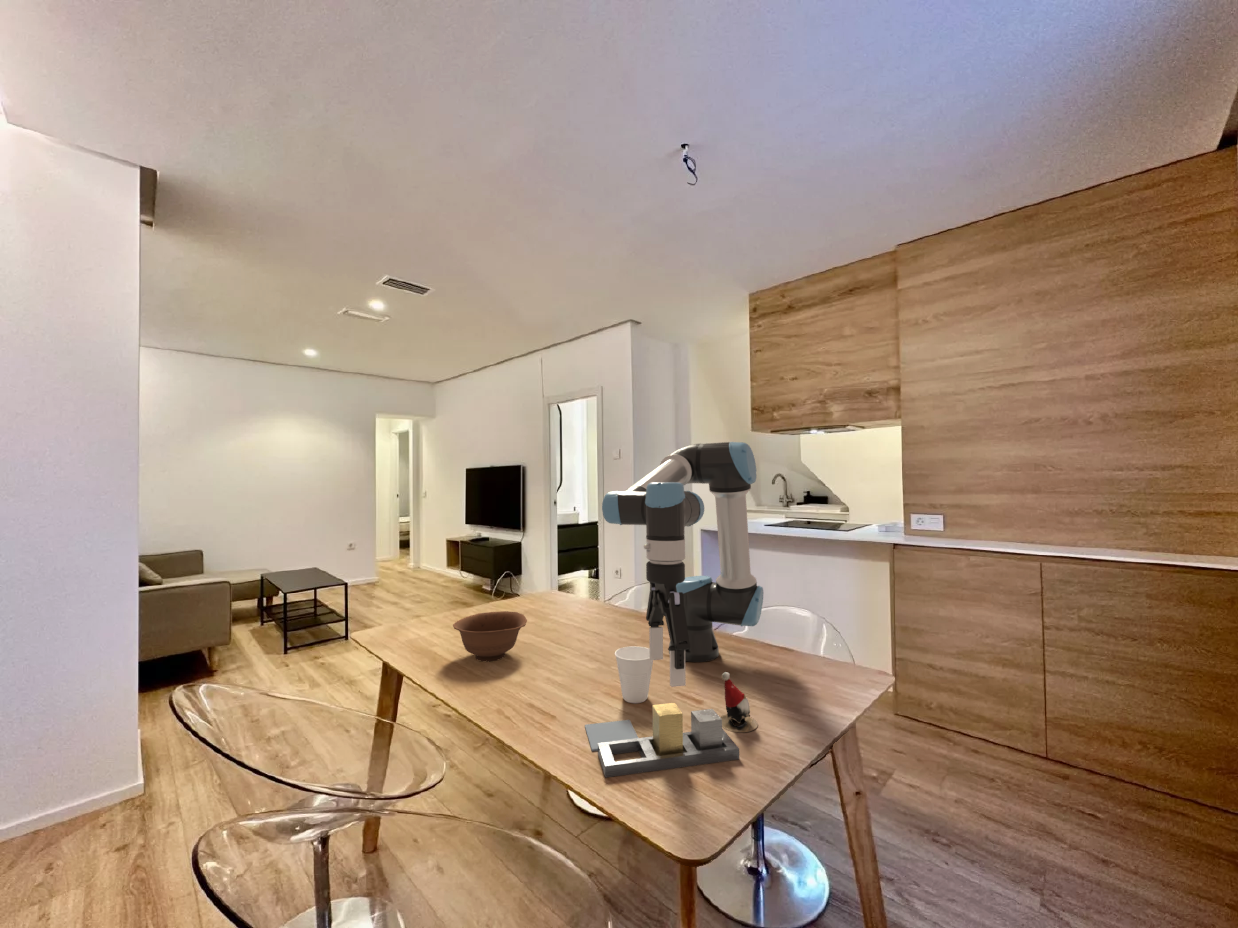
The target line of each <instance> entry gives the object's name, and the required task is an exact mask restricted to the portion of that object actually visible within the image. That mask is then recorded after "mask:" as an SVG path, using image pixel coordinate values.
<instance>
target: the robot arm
mask: <svg viewBox="0 0 1238 928" xmlns="http://www.w3.org/2000/svg"><path fill="white" fill-rule="evenodd" d="M753 452H754V451H753V450H752V448H751V446H750V445H749V444H748V443H746V442H740V441H724V442H709V443H707V442H706V443H694V444H693V443H692V444H690V445H687V446H684V447H681V448H679V449H677V450H675V451H673V452H671V453H670V454H668V455H667V456H665V457H664V458H663V459H662V460H661V461H660V464H659V466H657V467H656V468H654V469H653V470H652V471H650V472H649V473H647V474H646V475H645V476H644V477H642V478H641V479H639V480H638V481H636V482H635V483H633V485H631V486H629V487H628V488H627V489H625V490H613V491H609V492H607V493H605V495H604V496H603V499H602V503H601V511H602V516H603V519H604V520H605V521H606V522H607V523H608V524H613V525H614V524H615V525H620V526H623V525H627V526H630V525H631V526H645V529H646V530H645V531H646V533H645V535H646V537H645V539H646V541H645V542H646V544H644V545H643V549H644V550H646V559H647V560H648V561H647V562H646V564H645V565H646V569H645V572H646V575H645V576H646V577H645V579H646V580H647V582H649V595H648V601H647V610H646V615H645V619H646V622H647V623H648V624H647V625H648V626H649V631H648V632H649V633H648V635H649V636H648V637H649V640H648V641H649V642H648V643H649V649H650V660H653V661H658V660H660V661H661V660H664V627H663V626H665V622H666V627H667V630H668V631H667V632H668V637H669V644H668V648H667V650H668V654H669V686H670V687H671V688H673V687H674V688H675V687H683V686H685V687H686V685H687V684H686V662H688V663H689V662H691V663H704V662H710V661H713V660H715V659H717V658H718V657H719V655H720V654H719V649H720V648H719V645H718V642H717V638H716V636H715V632H714V629H713V623H717V624H726V625H732V626H740V627H755V626H757V625H758V623H759V621H760V618H761V616H762V609H763V604H764V603H763V602H764V587H763V586H761V585H757V583H758V582H757V578H756V577H755V576H754V575H753V574H752V573H751V558H750V544H749V543H750V542H749V541H750V540H749V527H748V526H749V525H748V511H747V493H749V491H750V490H751V489H752V488H751V487H752V486H751V485H752V484H754V483H756V480H757V464H756V460H755V459H756V458H755V455H754V453H753ZM688 484H703V485H704V484H708V490H709V492H710V493H711V494H713V495H714V497H715V509H716V510H715V512H716V513H715V514H716V524H717V526H716V527H717V541H718V542H717V543H718V554H719V555H718V556H719V567H720V568H719V569H720V574H719V576H717V577H716V579H715V582H714V581H713V578H712V576H710V575H694V576H686V564H685V563H684V562H683V561H684V560H685V559H686V538H685V527H691V526H694V524H695V525H696V524H697V523H698V522H700V521H701V520H702V518H703V516H704V514H705V504H704V501H703V499H702V498H701V497H700V496H699V495H698V494H697V493H696V492H693V491H689V490H685V486H686V485H688ZM664 617H665V622H664Z"/></svg>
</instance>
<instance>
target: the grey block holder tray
mask: <svg viewBox="0 0 1238 928" xmlns="http://www.w3.org/2000/svg"><path fill="white" fill-rule="evenodd" d="M634 752H639V755H640V758H634V759H626V760H625V759H624V760H618V761H615V758H614V755H618V754H619V755H621V754H626V753H627V754H628V753H634ZM597 756H598V759H599V762H600V765H601V768H602V771H603V775H604V777H605V778H612V777H618V776H619V777H620V776H626V775H627V776H628V775H634V774H635V775H636V774H641V773H649V772H656V771H664V770H673V769H678V768H679V769H680V768H685V767H693V766H700V765H706V764H707V765H708V764H715V763H723V762H727V761H728V762H730V761H736V760H740V748H739V746H738V745H737V744H736V743H735V742H734V740H733V739H732V738H731V737H730V736H729V734H728V733H727V732H726V731H725V730H724V728H722V748H716V749H709V750H701V751H697V749H696V748H695V746H694V745H693V743H692V742H691V731H687V732H685V731H684V732H683V753H678V754H670V755H663V756H657V755H656V753H655V751H654V749H653V735H652V736H646V737H644V736H643V737H638V738H635V739H627V740H619V741H610V742H602V743H598V751H597Z"/></svg>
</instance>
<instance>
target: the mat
mask: <svg viewBox="0 0 1238 928" xmlns="http://www.w3.org/2000/svg"><path fill="white" fill-rule="evenodd" d="M584 729H585V733H586V737H587V739H588V744H589V746H590V749H591V752H598V743H602V742H610V741H619V740H627V739H635V738H639V736H638V734H637V732H636V730H635V728H634V726H633V724H632V722H631V720H630V719H624V720H615V721H614V720H613V721H605V722H598V723H597V722H596V723H588V724H587V723H586V724H584Z"/></svg>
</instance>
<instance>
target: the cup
mask: <svg viewBox="0 0 1238 928" xmlns="http://www.w3.org/2000/svg"><path fill="white" fill-rule="evenodd" d="M614 656H615V660H616V664H617V671H618V677H619V682H620V690H621V696H622V699H623V700H624V701H625V702H627V703H629V704H630V703H631V704H640V703H641V704H642V703H643V702H646V700H647V699H648V696H649V691H650V683H651V678H652V677H651V676H652V670H653V664H654V660H650V647H645V646H638V645H637V646H635V645H632V646H631V645H630V646H624V647H619V648H618V649H616V650H615V652H614Z"/></svg>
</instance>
